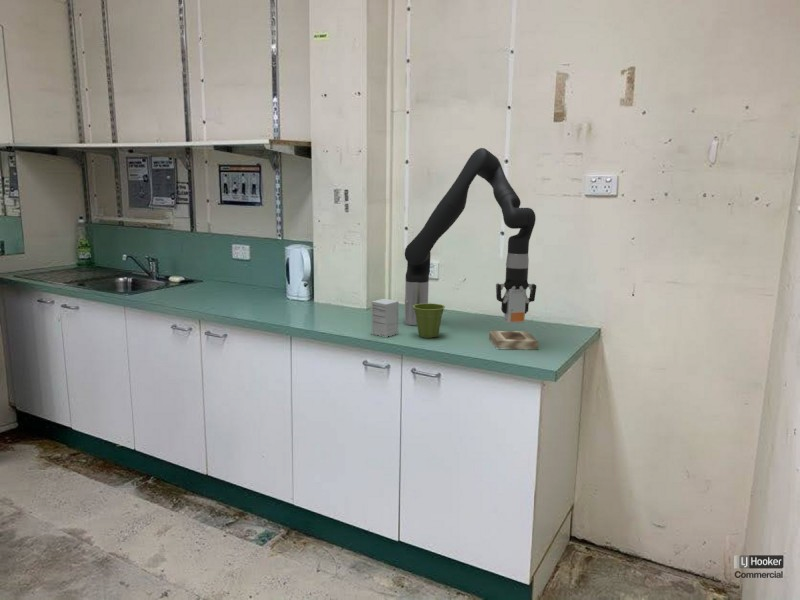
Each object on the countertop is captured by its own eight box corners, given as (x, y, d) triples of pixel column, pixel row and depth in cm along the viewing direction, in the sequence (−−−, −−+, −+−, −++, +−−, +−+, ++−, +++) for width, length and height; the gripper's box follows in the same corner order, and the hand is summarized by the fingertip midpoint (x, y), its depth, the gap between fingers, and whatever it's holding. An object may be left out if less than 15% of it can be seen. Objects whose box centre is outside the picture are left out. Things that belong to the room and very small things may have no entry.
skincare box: (509, 323, 202) (510, 289, 199) (503, 321, 206) (505, 287, 203) (525, 322, 203) (526, 289, 201) (519, 320, 207) (521, 287, 205)
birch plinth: (497, 349, 199) (497, 340, 198) (489, 338, 212) (489, 330, 212) (537, 349, 199) (538, 340, 199) (526, 339, 213) (527, 330, 212)
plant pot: (440, 331, 222) (441, 302, 220) (447, 339, 210) (448, 309, 208) (409, 332, 220) (410, 303, 218) (415, 340, 209) (415, 309, 206)
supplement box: (383, 330, 222) (384, 298, 219) (398, 334, 217) (399, 301, 215) (370, 334, 216) (371, 301, 214) (385, 337, 211) (386, 303, 209)
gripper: (499, 267, 197) (496, 315, 200) (540, 267, 197) (537, 315, 201) (494, 264, 204) (492, 310, 207) (534, 264, 205) (531, 311, 208)
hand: (514, 313), depth 204 cm, fingers closed on skincare box, 6 cm apart
